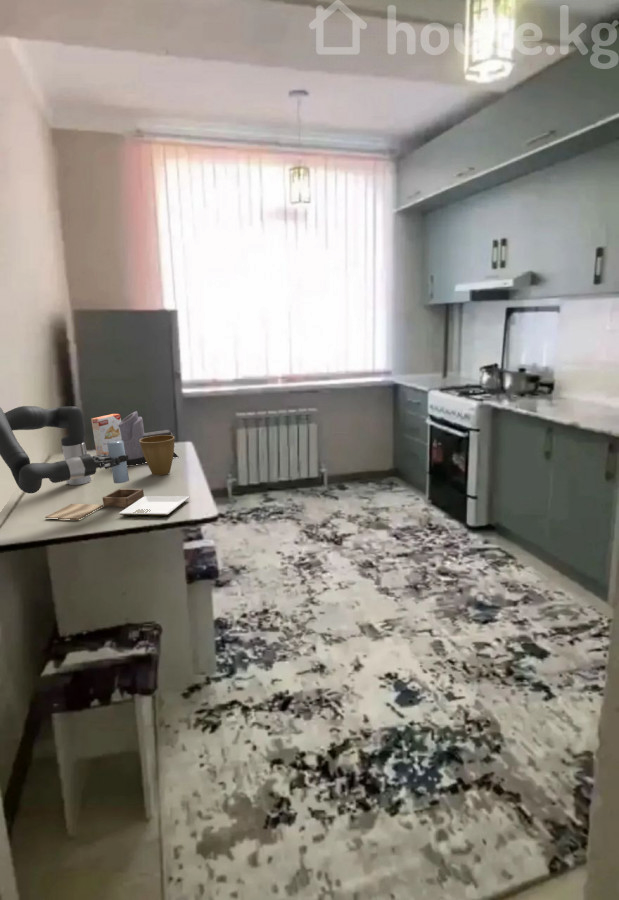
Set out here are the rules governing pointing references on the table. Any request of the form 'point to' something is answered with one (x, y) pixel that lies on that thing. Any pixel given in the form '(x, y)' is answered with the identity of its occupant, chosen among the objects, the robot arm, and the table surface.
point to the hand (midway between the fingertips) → (124, 456)
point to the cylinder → (120, 470)
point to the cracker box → (105, 431)
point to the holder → (123, 497)
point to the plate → (155, 505)
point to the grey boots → (136, 437)
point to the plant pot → (158, 453)
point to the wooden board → (74, 511)
